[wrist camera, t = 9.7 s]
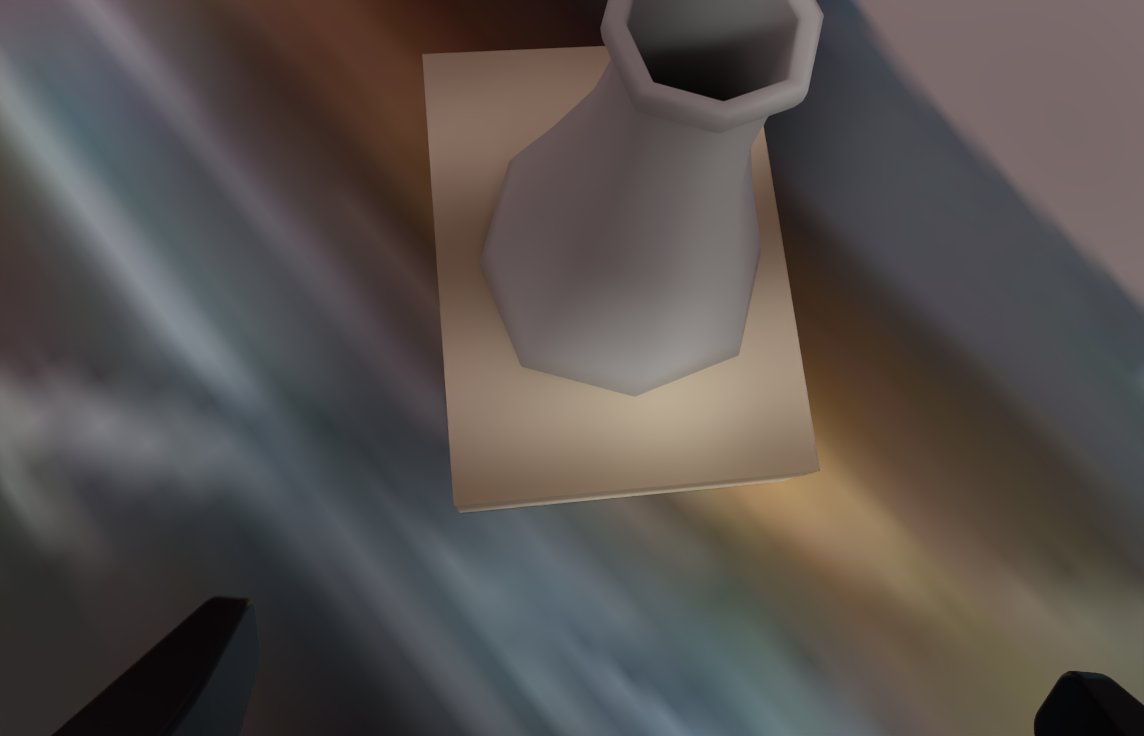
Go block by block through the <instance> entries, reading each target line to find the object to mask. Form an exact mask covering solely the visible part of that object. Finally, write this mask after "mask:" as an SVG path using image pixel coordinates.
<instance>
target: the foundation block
mask: <svg viewBox="0 0 1144 736" xmlns="http://www.w3.org/2000/svg"><path fill="white" fill-rule="evenodd" d="M422 57H423V72H424V86H425V100H426V115H427V129H428V144H429V158H430V173H431V187H432V201H433V216H434V230H435V245H436V259H437V273H438V288H439V302H440V317H441V331H442V345H443V360H444V374H445V389H446V403H447V417H448V432H449V446H450V461H451V475H452V490H453V504H454V507H455V508H456V509H457V510H458V511H459V512H460V513H464V512H474V511H484V510H495V509H505V508H515V507H525V506H536V505H546V504H556V503H567V502H577V501H587V500H597V499H608V498H618V497H628V496H639V495H649V494H659V493H670V492H680V491H690V490H700V489H711V488H721V487H731V486H742V485H752V484H762V483H773V482H782V481H785V480H789V479H792V478H796V477H800V476H803V475H807V474H810V473H814V472H817V471H820V469H819V462H818V456H817V450H816V444H815V438H814V432H813V426H812V420H811V414H810V407H809V401H808V395H807V389H806V383H805V377H804V371H803V365H802V358H801V352H800V346H799V340H798V334H797V328H796V322H795V316H794V310H793V303H792V297H791V291H790V285H789V279H788V273H787V267H786V261H785V255H784V248H783V242H782V236H781V230H780V224H779V218H778V212H777V206H776V199H775V193H774V187H773V181H772V175H771V169H770V163H769V157H768V151H767V144H766V138H765V132H764V126H763V127H762V128H761V130H760V132H759V134H758V136H757V137H756V139H755V141H754V143H753V145H752V146H751V160H752V176H753V191H754V203H755V209H756V215H757V221H758V227H759V234H760V243H761V254H760V259H759V263H758V268H757V273H756V277H755V282H754V287H753V291H752V296H751V301H750V305H749V310H748V315H747V319H746V324H745V329H744V333H743V338H742V343H741V347H740V352H739V355H738V356H736V357H733V358H731V359H728V360H726V361H723V362H721V363H718V364H716V365H713V366H711V367H708V368H705V369H703V370H700V371H698V372H695V373H693V374H690V375H688V376H685V377H683V378H680V379H678V380H675V381H673V382H670V383H668V384H665V385H663V386H660V387H658V388H655V389H653V390H650V391H648V392H645V393H643V394H640V395H638V396H635V397H634V396H630V395H626V394H622V393H619V392H615V391H611V390H607V389H604V388H600V387H596V386H592V385H589V384H585V383H581V382H577V381H574V380H570V379H566V378H562V377H559V376H555V375H551V374H548V373H544V372H540V371H536V370H533V369H529V368H525V367H521V364H520V362H519V359H518V357H517V355H516V352H515V350H514V347H513V345H512V342H511V340H510V337H509V335H508V333H507V330H506V328H505V325H504V323H503V320H502V318H501V315H500V313H499V310H498V308H497V306H496V303H495V301H494V298H493V296H492V293H491V291H490V288H489V286H488V284H487V281H486V279H485V276H484V274H483V271H482V269H481V266H480V264H479V261H480V257H481V254H482V251H483V247H484V244H485V241H486V237H487V234H488V231H489V227H490V224H491V221H492V217H493V214H494V211H495V207H496V204H497V201H498V197H499V194H500V191H501V187H502V184H503V181H504V177H505V174H506V171H507V167H508V164H509V161H510V160H512V159H513V158H514V157H515V156H516V155H517V154H518V153H519V152H520V151H522V150H523V149H524V148H526V147H527V146H528V145H530V144H531V143H532V142H534V141H535V140H536V139H538V138H539V137H540V136H542V135H543V134H544V133H546V132H547V131H548V130H550V129H551V128H552V127H553V126H554V125H555V124H556V123H557V122H559V121H560V120H561V119H562V118H563V117H564V116H565V115H566V114H567V113H568V112H569V111H571V110H572V109H573V108H574V107H575V106H576V105H577V104H578V103H579V102H580V101H581V100H582V99H584V98H585V97H586V96H587V95H588V94H589V93H590V92H591V91H592V90H593V89H594V88H595V86H596V85H597V83H598V81H599V79H600V78H601V76H602V74H603V72H604V70H605V69H606V67H607V65H608V63H609V61H610V60H611V57H610V55H609V53H608V50H607V48H606V46H593V47H570V48H548V49H525V50H503V51H480V52H458V53H435V54H422Z"/></svg>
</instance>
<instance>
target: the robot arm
mask: <svg viewBox="0 0 1144 736" xmlns="http://www.w3.org/2000/svg"><path fill="white" fill-rule="evenodd" d="M259 660H260V643H259V634H258V626H257V617H256V609H255V605H254V603H253V601H252V600H251V599H249V598H246V597H235V596H224V595H217V596H214V597H211V598H210V599H208V600H207V601H205V602H204V603H203V604H202V605H201V606H200V607H199V608H197V609H196V610H195V611H194V612H193V613H192V614H191V615H189V616H188V617H187V618H186V619H185V620H184V621H182V622H181V623H180V624H179V625H178V626H177V627H176V628H174V629H173V630H172V631H171V632H170V633H169V634H167V635H166V636H165V637H164V638H163V639H162V640H161V641H159V642H158V643H157V644H156V645H155V646H154V647H153V648H151V649H150V650H149V651H148V652H147V653H146V654H144V655H143V656H142V657H141V658H140V659H139V660H138V661H136V662H135V663H134V664H133V665H132V666H131V667H130V668H128V669H127V670H126V671H125V672H124V673H123V674H121V675H120V676H119V677H118V678H117V679H116V680H115V681H113V682H112V683H111V684H110V685H109V686H108V687H106V688H105V689H104V690H103V691H102V692H101V693H100V694H98V695H97V696H96V697H95V698H94V699H93V700H92V701H90V702H89V703H88V704H87V705H86V706H85V707H83V708H82V709H81V710H80V711H79V712H78V713H77V714H75V715H74V716H73V717H72V718H71V719H70V720H68V721H67V722H66V723H65V724H64V725H63V726H62V727H60V728H59V729H58V730H57V731H56V732H55V733H54V734H52V735H51V736H239V735H240V731H241V728H242V724H243V720H244V717H245V713H246V710H247V706H248V703H249V699H250V696H251V692H252V688H253V685H254V681H255V678H256V674H257V670H258V666H259ZM1034 734H1035V736H1144V705H1143V704H1142V703H1141V702H1139V701H1138V700H1137V699H1136V698H1135V697H1133V696H1132V695H1131V694H1130V693H1128V692H1127V691H1126V690H1125V689H1124V688H1122V687H1121V686H1120V685H1119V684H1118V683H1116V682H1115V681H1114V680H1112V679H1111V678H1110V677H1108V676H1106V675H1103V674H1099V673H1091V672H1080V671H1068V672H1066V673H1064V674H1063V675H1062V676H1061V677H1060V678H1059V680H1058V681H1057V683H1056V684H1055V686H1054V687H1053V689H1052V690H1051V692H1050V693H1049V695H1048V696H1047V698H1046V699H1045V701H1044V702H1043V704H1042V705H1041V707H1040V708H1039V710H1038V712H1037V714H1036V716H1035V720H1034Z"/></svg>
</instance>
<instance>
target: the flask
mask: <svg viewBox="0 0 1144 736" xmlns="http://www.w3.org/2000/svg"><path fill="white" fill-rule="evenodd" d="M823 17H824V15H823V13H822V11H821V9H820V7H819V5H818V3H817V2H816V0H608V2H607V6H606V9H605V13H604V17H603V20H602V24H601V27H600V30H601V36H602V40H603V42H604V44H605V46H606V48H607V50H608V53H609V55H610V57H611V60H610V61H609V63H608V65H607V67H606V69H605V70H604V72H603V74H602V76H601V78H600V79H599V81H598V83H597V85H596V86H595V88H594V89H593V90H592V91H591V92H590V93H589V94H588V95H587V96H586V97H585V98H584V99H582V100H581V101H580V102H579V103H578V104H577V105H576V106H575V107H574V108H573V109H572V110H571V111H569V112H568V113H567V114H566V115H565V116H564V117H563V118H562V119H561V120H560V121H559V122H557V123H556V124H555V125H554V126H553V127H552V128H551V129H550V130H548V131H547V132H546V133H544V134H543V135H542V136H540V137H539V138H538V139H536V140H535V141H534V142H532V143H531V144H530V145H528V146H527V147H526V148H524V149H523V150H522V151H520V152H519V153H518V154H517V155H516V156H515V157H514V158H513V159H512V160H510V161H509V164H508V167H507V171H506V174H505V177H504V181H503V184H502V187H501V191H500V194H499V197H498V201H497V204H496V207H495V211H494V214H493V217H492V221H491V224H490V227H489V231H488V234H487V237H486V241H485V244H484V247H483V251H482V254H481V257H480V261H479V264H480V266H481V269H482V271H483V274H484V276H485V279H486V281H487V284H488V286H489V288H490V291H491V293H492V296H493V298H494V301H495V303H496V306H497V308H498V310H499V313H500V315H501V318H502V320H503V323H504V325H505V328H506V330H507V333H508V335H509V337H510V340H511V342H512V345H513V347H514V350H515V352H516V355H517V357H518V359H519V362H520V364H521V367H525V368H529V369H533V370H536V371H540V372H544V373H548V374H551V375H555V376H559V377H562V378H566V379H570V380H574V381H577V382H581V383H585V384H589V385H592V386H596V387H600V388H604V389H607V390H611V391H615V392H619V393H622V394H626V395H630V396H634V397H635V396H638V395H640V394H643V393H645V392H648V391H650V390H653V389H655V388H658V387H660V386H663V385H665V384H668V383H670V382H673V381H675V380H678V379H680V378H683V377H685V376H688V375H690V374H693V373H695V372H698V371H700V370H703V369H705V368H708V367H711V366H713V365H716V364H718V363H721V362H723V361H726V360H728V359H731V358H733V357H736V356H738V355H739V352H740V347H741V343H742V338H743V333H744V329H745V324H746V319H747V315H748V310H749V305H750V301H751V296H752V291H753V287H754V282H755V277H756V273H757V268H758V263H759V259H760V254H761V243H760V234H759V227H758V221H757V215H756V209H755V203H754V191H753V176H752V160H751V146H752V145H753V143H754V141H755V139H756V137H757V136H758V134H759V132H760V130H761V128H762V127H763V125H764V123H765V121H766V119H767V118H768V116H770V115H773V114H776V113H779V112H782V111H785V110H787V109H790V108H793V107H795V106H796V105H798V104H799V103H801V102H802V101H803V100H804V98H805V96H806V94H807V92H808V88H809V84H810V79H811V74H812V69H813V65H814V60H815V55H816V50H817V46H818V41H819V36H820V31H821V27H822V22H823Z"/></svg>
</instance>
